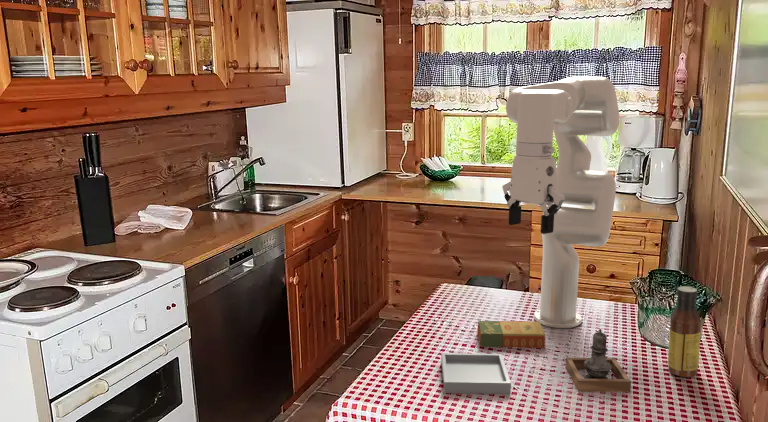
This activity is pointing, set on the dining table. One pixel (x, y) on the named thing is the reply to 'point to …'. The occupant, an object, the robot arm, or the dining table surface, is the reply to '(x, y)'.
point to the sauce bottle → (684, 335)
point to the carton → (511, 334)
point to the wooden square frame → (598, 384)
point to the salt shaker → (598, 358)
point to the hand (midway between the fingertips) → (530, 228)
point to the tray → (475, 373)
